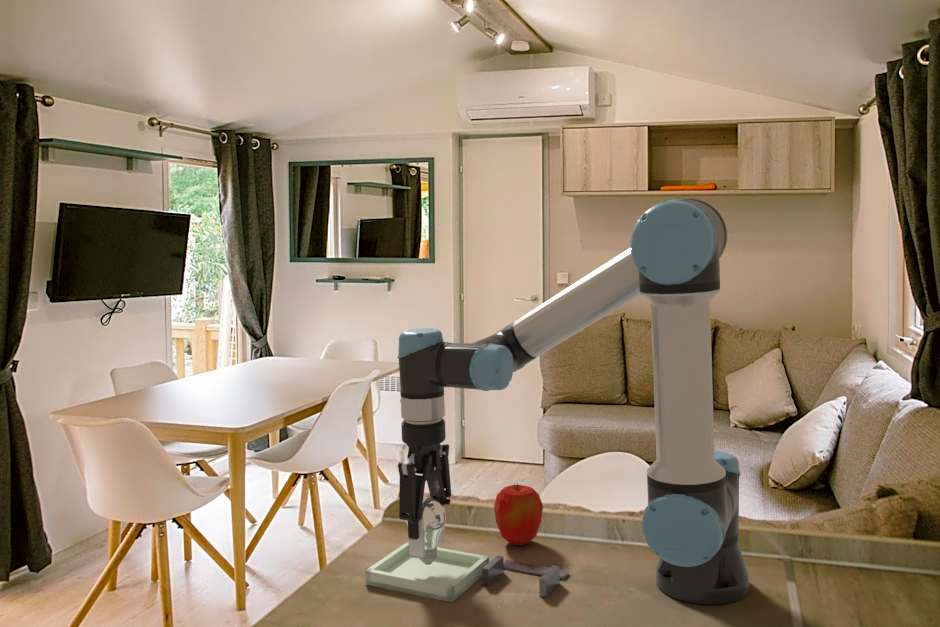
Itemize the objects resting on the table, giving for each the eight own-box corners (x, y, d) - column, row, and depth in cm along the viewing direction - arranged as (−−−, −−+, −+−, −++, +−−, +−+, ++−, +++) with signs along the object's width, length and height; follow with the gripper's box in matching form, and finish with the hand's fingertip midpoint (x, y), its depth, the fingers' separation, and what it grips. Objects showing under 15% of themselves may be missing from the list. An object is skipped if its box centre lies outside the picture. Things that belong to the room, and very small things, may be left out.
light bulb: (443, 573, 151) (439, 506, 149) (403, 571, 152) (400, 504, 151) (451, 556, 158) (449, 491, 156) (414, 554, 159) (410, 490, 157)
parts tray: (489, 570, 158) (489, 556, 157) (451, 602, 145) (451, 588, 145) (407, 554, 165) (407, 541, 165) (365, 584, 153) (365, 570, 153)
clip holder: (568, 574, 155) (568, 557, 155) (546, 597, 146) (546, 580, 146) (506, 562, 160) (506, 547, 160) (481, 584, 152) (481, 568, 151)
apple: (495, 553, 165) (494, 491, 163) (493, 534, 174) (492, 475, 172) (545, 551, 165) (544, 489, 164) (541, 533, 174) (539, 474, 172)
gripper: (432, 404, 162) (436, 525, 165) (373, 430, 145) (379, 565, 148) (468, 408, 158) (472, 531, 161) (412, 435, 141) (417, 572, 144)
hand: (427, 547), depth 155 cm, fingers closed on light bulb, 6 cm apart
